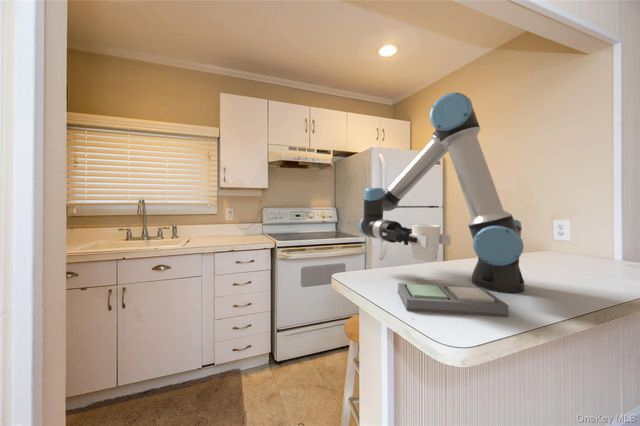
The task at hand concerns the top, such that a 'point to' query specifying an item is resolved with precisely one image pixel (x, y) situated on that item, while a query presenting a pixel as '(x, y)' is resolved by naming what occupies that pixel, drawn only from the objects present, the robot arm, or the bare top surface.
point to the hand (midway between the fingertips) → (438, 241)
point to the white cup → (433, 242)
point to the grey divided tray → (452, 303)
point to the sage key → (426, 292)
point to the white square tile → (469, 294)
